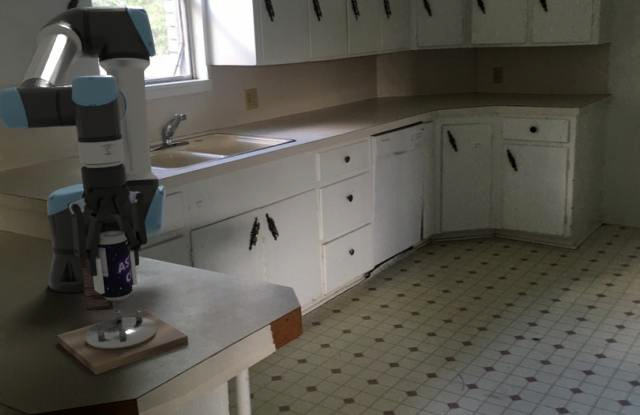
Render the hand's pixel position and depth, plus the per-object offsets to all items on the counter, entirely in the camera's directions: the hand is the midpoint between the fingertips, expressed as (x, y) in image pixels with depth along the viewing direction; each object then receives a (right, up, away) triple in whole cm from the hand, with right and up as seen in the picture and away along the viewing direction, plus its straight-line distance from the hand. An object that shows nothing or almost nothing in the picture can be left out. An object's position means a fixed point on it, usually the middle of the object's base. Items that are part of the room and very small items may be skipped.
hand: (116, 287), depth 126 cm
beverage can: (0, -2, 0) cm, 2 cm away
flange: (0, -9, +3) cm, 10 cm away
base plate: (0, -11, +3) cm, 11 cm away
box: (-10, -7, +22) cm, 25 cm away
